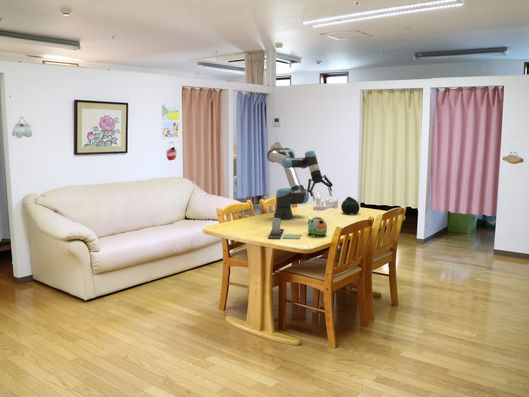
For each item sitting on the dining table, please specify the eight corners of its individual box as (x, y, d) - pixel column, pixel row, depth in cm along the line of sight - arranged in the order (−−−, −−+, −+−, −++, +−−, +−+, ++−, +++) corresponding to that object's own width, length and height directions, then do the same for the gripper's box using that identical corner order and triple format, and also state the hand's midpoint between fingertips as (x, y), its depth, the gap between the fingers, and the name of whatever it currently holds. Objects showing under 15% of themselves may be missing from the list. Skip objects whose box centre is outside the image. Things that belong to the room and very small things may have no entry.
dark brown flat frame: (272, 230, 344) (272, 228, 344) (283, 230, 343) (283, 229, 343) (268, 238, 319) (268, 237, 319) (280, 239, 318) (280, 237, 318)
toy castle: (312, 210, 426) (312, 191, 423) (324, 206, 447) (324, 188, 444) (327, 211, 418) (327, 193, 416) (339, 207, 439) (339, 189, 437)
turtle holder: (317, 231, 343) (317, 214, 341) (330, 236, 326) (331, 219, 324) (301, 232, 338) (301, 215, 336) (314, 238, 321) (314, 220, 319)
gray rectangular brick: (272, 235, 329) (272, 219, 327) (272, 233, 334) (273, 217, 332) (279, 235, 328) (279, 219, 327) (280, 234, 333) (280, 218, 331)
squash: (359, 209, 398) (359, 194, 406) (341, 209, 400) (341, 194, 408) (359, 218, 409) (359, 203, 417) (341, 218, 412) (341, 203, 420)
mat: (283, 238, 319) (283, 237, 319) (284, 234, 330) (284, 234, 330) (299, 239, 318) (299, 238, 318) (300, 235, 329) (300, 234, 329)
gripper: (300, 173, 362) (308, 201, 359) (331, 166, 367) (339, 193, 365) (298, 175, 369) (306, 202, 367) (328, 168, 375) (336, 195, 372)
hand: (322, 198), depth 366 cm, fingers open, 13 cm apart
